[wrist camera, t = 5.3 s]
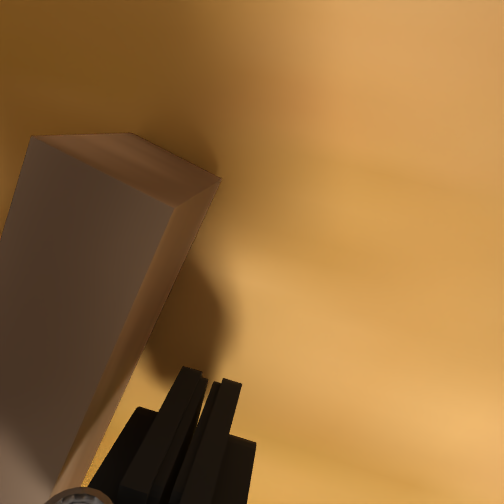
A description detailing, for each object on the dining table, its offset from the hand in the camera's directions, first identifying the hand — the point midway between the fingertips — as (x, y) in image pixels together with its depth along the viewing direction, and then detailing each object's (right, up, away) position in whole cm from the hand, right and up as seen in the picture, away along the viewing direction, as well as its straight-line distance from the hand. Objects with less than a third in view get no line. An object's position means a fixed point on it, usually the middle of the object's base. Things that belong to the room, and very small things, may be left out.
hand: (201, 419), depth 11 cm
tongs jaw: (-5, -2, +3) cm, 6 cm away
